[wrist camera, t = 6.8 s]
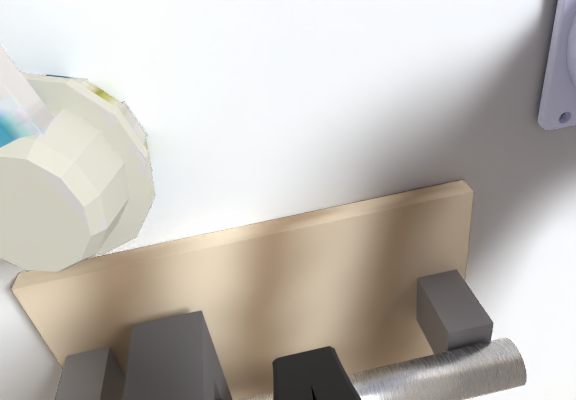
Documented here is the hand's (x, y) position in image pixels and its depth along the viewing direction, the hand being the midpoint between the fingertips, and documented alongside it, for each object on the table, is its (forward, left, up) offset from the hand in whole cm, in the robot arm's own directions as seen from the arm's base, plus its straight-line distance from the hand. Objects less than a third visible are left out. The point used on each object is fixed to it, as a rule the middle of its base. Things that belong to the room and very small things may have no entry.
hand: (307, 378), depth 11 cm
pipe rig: (+1, +9, -10) cm, 14 cm away
